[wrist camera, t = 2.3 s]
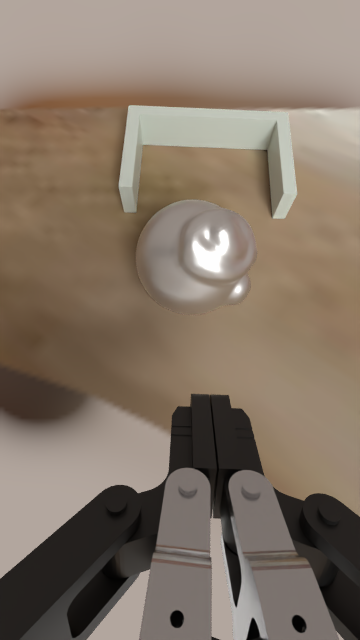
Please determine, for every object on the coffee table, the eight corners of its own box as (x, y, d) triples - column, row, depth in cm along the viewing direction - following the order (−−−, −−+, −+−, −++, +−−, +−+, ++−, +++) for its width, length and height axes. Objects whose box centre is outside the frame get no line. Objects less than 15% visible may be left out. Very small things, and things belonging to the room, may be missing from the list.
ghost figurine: (185, 355, 27) (191, 312, 18) (122, 275, 30) (98, 200, 20) (263, 296, 29) (306, 230, 20) (199, 226, 32) (209, 137, 22)
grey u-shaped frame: (124, 212, 32) (118, 186, 29) (133, 135, 35) (128, 105, 32) (284, 218, 32) (297, 193, 29) (277, 142, 36) (288, 112, 32)
